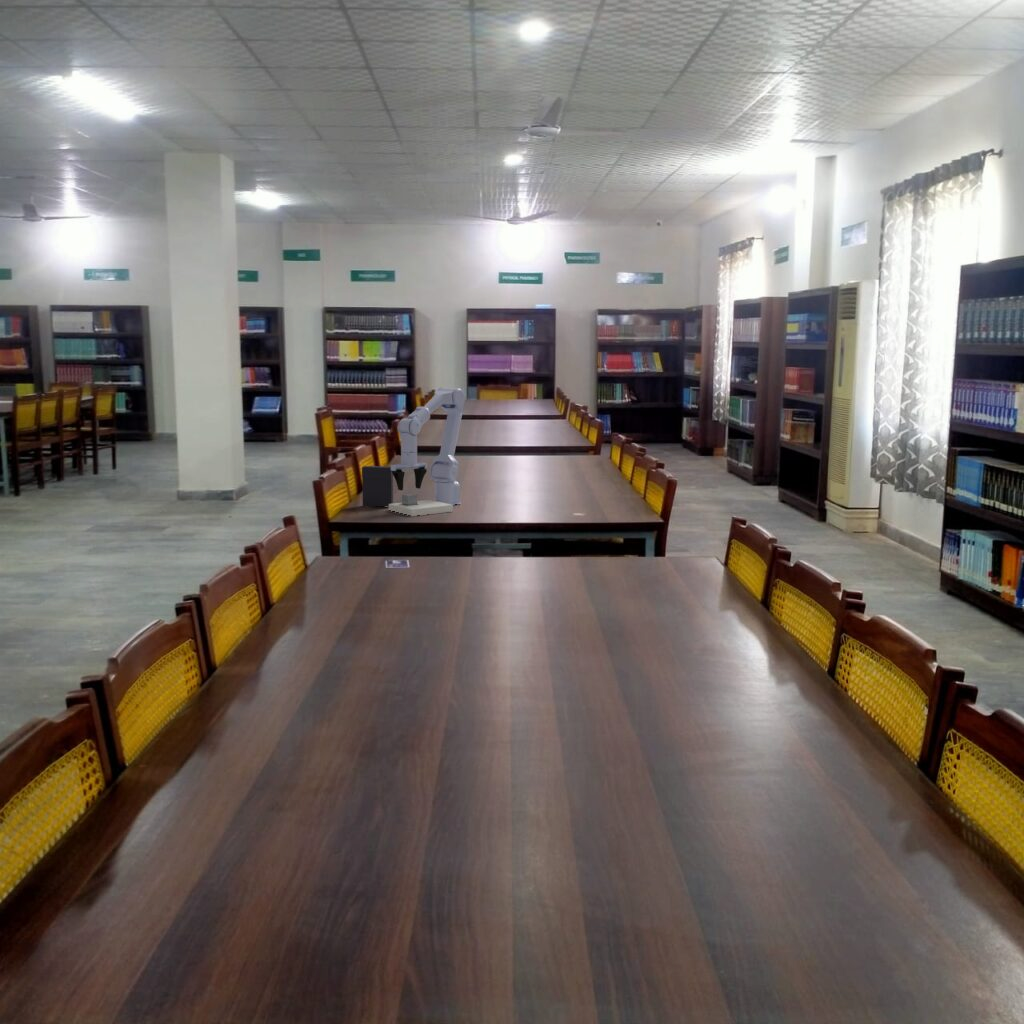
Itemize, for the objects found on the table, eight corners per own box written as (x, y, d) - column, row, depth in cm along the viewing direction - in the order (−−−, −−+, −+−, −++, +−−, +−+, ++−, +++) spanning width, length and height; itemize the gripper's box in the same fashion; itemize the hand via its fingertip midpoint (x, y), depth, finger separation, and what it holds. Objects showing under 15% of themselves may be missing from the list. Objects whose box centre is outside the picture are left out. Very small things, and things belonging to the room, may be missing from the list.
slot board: (429, 506, 364) (429, 499, 363) (453, 511, 352) (453, 504, 352) (388, 510, 352) (388, 503, 352) (411, 516, 341) (411, 509, 341)
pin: (411, 509, 355) (411, 493, 354) (417, 511, 352) (417, 495, 351) (402, 510, 353) (402, 494, 352) (407, 512, 350) (407, 496, 349)
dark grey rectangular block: (393, 506, 363) (393, 466, 361) (391, 507, 359) (390, 467, 357) (365, 505, 364) (364, 465, 362) (362, 506, 360) (361, 466, 358)
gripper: (398, 454, 342) (398, 492, 344) (432, 451, 351) (432, 488, 353) (387, 452, 347) (387, 489, 349) (421, 449, 356) (421, 486, 358)
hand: (409, 489), depth 352 cm, fingers open, 7 cm apart
